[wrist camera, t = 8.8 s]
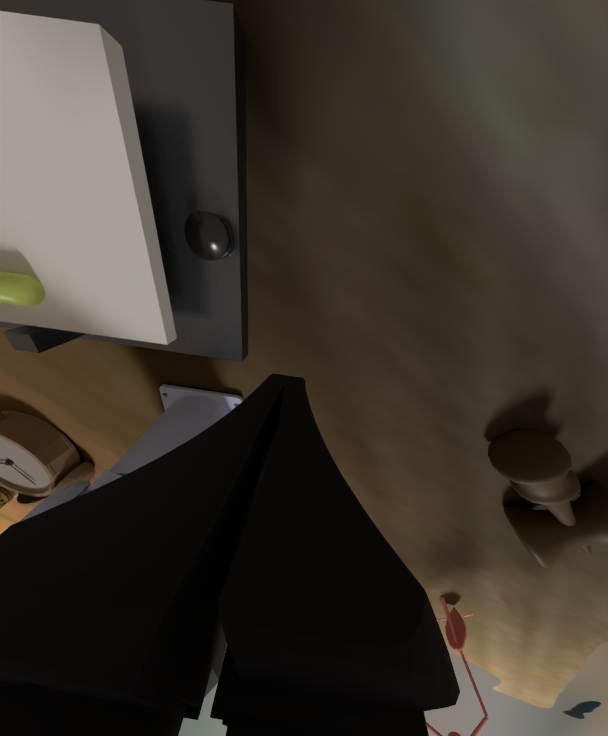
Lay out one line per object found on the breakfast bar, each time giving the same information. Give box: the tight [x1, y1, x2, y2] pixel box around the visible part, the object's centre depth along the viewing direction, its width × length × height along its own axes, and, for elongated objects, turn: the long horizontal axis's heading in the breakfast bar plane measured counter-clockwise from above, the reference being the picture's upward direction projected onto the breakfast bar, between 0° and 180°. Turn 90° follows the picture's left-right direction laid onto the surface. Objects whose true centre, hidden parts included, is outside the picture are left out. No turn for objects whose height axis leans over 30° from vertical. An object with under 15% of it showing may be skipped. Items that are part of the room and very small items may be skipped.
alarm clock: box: [0, 410, 94, 507], centre depth 28 cm, size 11×5×15 cm
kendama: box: [488, 429, 608, 568], centre depth 22 cm, size 6×10×20 cm
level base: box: [0, 0, 248, 362], centre depth 13 cm, size 25×17×6 cm
